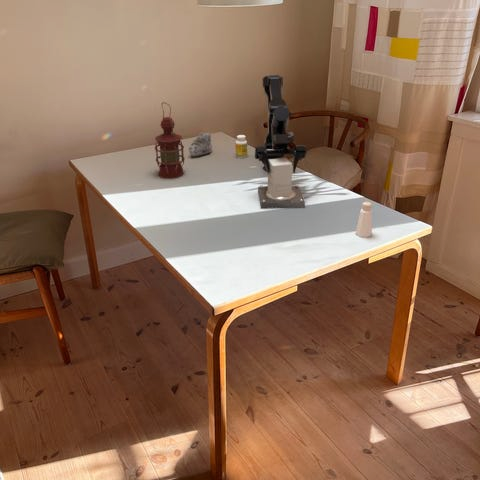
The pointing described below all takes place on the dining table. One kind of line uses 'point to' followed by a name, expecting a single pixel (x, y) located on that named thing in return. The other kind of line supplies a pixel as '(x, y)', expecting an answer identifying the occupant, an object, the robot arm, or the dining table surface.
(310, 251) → the dining table surface
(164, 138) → the lantern
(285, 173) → the supplement box
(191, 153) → the mineral rock
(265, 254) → the dining table surface
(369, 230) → the pepper shaker
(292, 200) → the motor mount
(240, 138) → the supplement bottle
